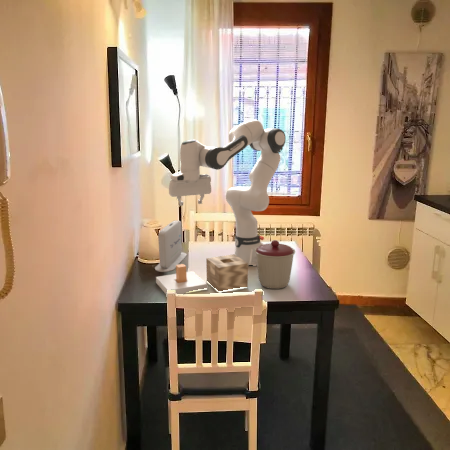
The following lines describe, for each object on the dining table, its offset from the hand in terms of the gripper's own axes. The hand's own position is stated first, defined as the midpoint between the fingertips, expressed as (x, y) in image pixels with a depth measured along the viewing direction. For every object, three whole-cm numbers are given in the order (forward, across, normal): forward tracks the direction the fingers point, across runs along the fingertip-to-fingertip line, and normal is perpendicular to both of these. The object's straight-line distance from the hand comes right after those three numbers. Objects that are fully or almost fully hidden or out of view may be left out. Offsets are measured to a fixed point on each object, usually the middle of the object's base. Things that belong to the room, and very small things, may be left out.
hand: (190, 204), depth 218 cm
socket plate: (+34, +11, +15) cm, 39 cm away
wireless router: (+34, +4, -20) cm, 40 cm away
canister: (+34, -28, +31) cm, 54 cm away
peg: (+34, +11, +15) cm, 39 cm away
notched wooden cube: (+34, -8, +23) cm, 42 cm away
